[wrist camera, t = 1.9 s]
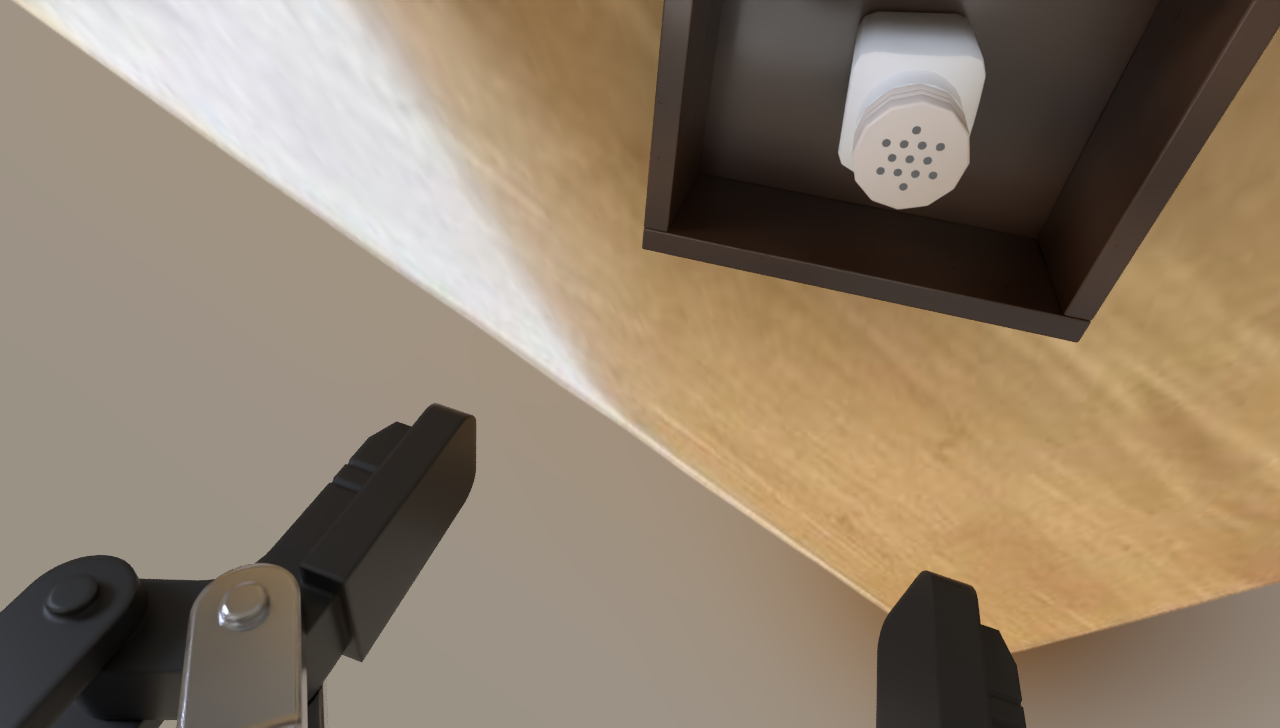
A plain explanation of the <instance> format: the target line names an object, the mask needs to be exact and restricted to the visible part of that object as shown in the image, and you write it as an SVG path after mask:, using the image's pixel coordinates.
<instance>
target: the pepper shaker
mask: <svg viewBox="0 0 1280 728" xmlns="http://www.w3.org/2000/svg"><path fill="white" fill-rule="evenodd" d="M985 77H986V72H985V65H984V59H983V56H982V54H981V51H980V48H979V45H978V43H977V40H976V37H975V34H974V32H973V29H972V26H971V24H970V21H969V19H967V18H965V17H963V16H961V15H959V14H944V13H913V12H882V11H877V12H874V13H872V14H869V15H866V16H864V18H863V20H862V22H861V24H860V25H859V27H858V30H857V36H856V42H855V48H854V55H853V61H852V67H851V73H850V79H849V85H848V92H847V98H846V104H845V110H844V117H843V123H842V130H841V136H840V143H839V149H838V155H839V158H840V161H841V164H842V165H844V166H845V167H847V168H848V169H850V170H852V171H853V172H854V176H855V181H856V182H857V183H858V185H859V186H860V187H861V188H862V189H863V191H864V192H865V193H866V194H867V195H868V197H869V198H870V199H871V200H872V201H875V202H878V203H881V204H883V205H886V206H889V207H892V208H895V209H906V208H914V207H921V206H928V205H929V204H931V203H933V202H934V201H936V200H937V199H939V198H940V197H942V196H944V195H945V194H947V193H948V192H950V191H951V190H953V189H954V188H955V186H956V185H957V183H958V181H959V180H960V178H961V176H962V175H963V173H964V171H965V170H966V168H967V166H968V165H969V163H970V147H969V137H970V134H971V131H972V127H973V124H974V120H975V117H976V113H977V109H978V106H979V102H980V98H981V94H982V90H983V86H984V81H985Z"/></svg>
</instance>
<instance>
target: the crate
mask: <svg viewBox="0 0 1280 728" xmlns="http://www.w3.org/2000/svg"><path fill="white" fill-rule="evenodd" d="M877 11H882V12H913V13H944V14H959V15H961V16H963V17H965V18H967V19H969V21H970V24H971V26H972V29H973V32H974V34H975V37H976V40H977V43H978V45H979V48H980V51H981V54H982V56H983V59H984V65H985V72H986V77H985V81H984V86H983V90H982V94H981V98H980V102H979V106H978V109H977V113H976V117H975V120H974V124H973V127H972V131H971V134H970V137H969V147H970V163H969V165H968V166H967V168H966V170H965V171H964V173H963V175H962V176H961V178H960V180H959V181H958V183H957V185H956V186H955V188H954V189H953V190H951V191H950V192H948V193H947V194H945V195H944V196H942V197H940V198H939V199H937V200H936V201H934V202H933V203H931V204H929V205H928V206H921V207H914V208H906V209H895V208H892V207H889V206H886V205H883V204H881V203H878V202H875V201H872V200H871V199H870V198H869V197H868V195H867V194H866V193H865V192H864V191H863V189H862V188H861V187H860V186H859V185H858V183H857V182H856V181H855V176H854V172H853V171H852V170H850V169H848V168H847V167H845V166H844V165H842V164H841V161H840V158H839V155H838V149H839V143H840V136H841V130H842V123H843V117H844V110H845V104H846V98H847V92H848V85H849V79H850V73H851V67H852V61H853V55H854V48H855V42H856V36H857V30H858V27H859V25H860V24H861V22H862V20H863V18H864V16H866V15H869V14H872V13H874V12H877ZM1279 27H1280V0H664V5H663V17H662V28H661V39H660V51H659V62H658V73H657V85H656V96H655V107H654V118H653V130H652V141H651V152H650V164H649V175H648V186H647V198H646V209H645V220H644V227H645V228H644V232H643V243H642V248H643V249H646V250H651V251H655V252H660V253H664V254H669V255H674V256H678V257H683V258H688V259H692V260H697V261H702V262H706V263H711V264H715V265H720V266H725V267H729V268H734V269H739V270H743V271H748V272H753V273H757V274H762V275H766V276H771V277H776V278H780V279H785V280H790V281H794V282H799V283H804V284H808V285H813V286H817V287H822V288H827V289H831V290H836V291H841V292H845V293H850V294H855V295H859V296H864V297H868V298H873V299H878V300H882V301H887V302H892V303H896V304H901V305H906V306H910V307H915V308H919V309H924V310H929V311H933V312H938V313H943V314H947V315H952V316H957V317H961V318H966V319H970V320H975V321H980V322H984V323H989V324H994V325H998V326H1003V327H1008V328H1012V329H1017V330H1021V331H1026V332H1031V333H1035V334H1040V335H1045V336H1049V337H1054V338H1058V339H1063V340H1068V341H1072V342H1079V340H1080V339H1081V337H1082V335H1083V334H1084V332H1085V331H1086V329H1087V328H1088V326H1089V324H1090V322H1091V320H1092V319H1093V318H1094V316H1095V315H1096V313H1097V311H1098V310H1099V308H1100V307H1101V305H1102V304H1103V302H1104V301H1105V299H1106V297H1107V296H1108V294H1109V293H1110V291H1111V290H1112V288H1113V286H1114V285H1115V283H1116V282H1117V280H1118V279H1119V277H1120V276H1121V274H1122V272H1123V271H1124V269H1125V268H1126V266H1127V265H1128V263H1129V261H1130V260H1131V258H1132V257H1133V255H1134V254H1135V252H1136V250H1137V249H1138V247H1139V246H1140V244H1141V243H1142V241H1143V240H1144V238H1145V236H1146V235H1147V233H1148V232H1149V230H1150V229H1151V227H1152V225H1153V224H1154V222H1155V221H1156V219H1157V218H1158V216H1159V214H1160V213H1161V211H1162V210H1163V208H1164V207H1165V205H1166V204H1167V202H1168V200H1169V199H1170V197H1171V196H1172V194H1173V193H1174V191H1175V189H1176V188H1177V186H1178V185H1179V183H1180V182H1181V180H1182V178H1183V177H1184V175H1185V174H1186V172H1187V171H1188V169H1189V168H1190V166H1191V164H1192V163H1193V161H1194V160H1195V158H1196V157H1197V155H1198V153H1199V152H1200V150H1201V149H1202V147H1203V146H1204V144H1205V142H1206V141H1207V139H1208V138H1209V136H1210V135H1211V133H1212V132H1213V130H1214V128H1215V127H1216V125H1217V124H1218V122H1219V121H1220V119H1221V117H1222V116H1223V114H1224V113H1225V111H1226V110H1227V108H1228V107H1229V105H1230V103H1231V102H1232V100H1233V99H1234V97H1235V96H1236V94H1237V92H1238V91H1239V89H1240V88H1241V86H1242V85H1243V83H1244V81H1245V80H1246V78H1247V77H1248V75H1249V74H1250V72H1251V71H1252V69H1253V67H1254V66H1255V64H1256V63H1257V61H1258V60H1259V58H1260V56H1261V55H1262V53H1263V52H1264V50H1265V49H1266V47H1267V45H1268V44H1269V42H1270V41H1271V39H1272V38H1273V36H1274V35H1275V33H1276V31H1277V30H1278V28H1279Z"/></svg>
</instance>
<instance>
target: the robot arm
mask: <svg viewBox="0 0 1280 728" xmlns="http://www.w3.org/2000/svg"><path fill="white" fill-rule="evenodd" d="M475 473H476V419H475V417H474V416H473V415H470V414H467V413H464V412H461V411H458V410H455V409H452V408H449V407H446V406H443V405H440V404H437V403H434V404H432V405H430V406H429V407H428V408H427V409H426V410H425V411H424V412H423V414H422V415H421V416H420V417H419V418H418V420H417V421H416V422H415V423H414V425H413V426H412V427H411V426H408V425H405V424H402V423H399V422H395V423H393V424H391V425H390V426H388V427H386V428H384V429H383V430H381V431H379V432H378V433H376V434H374V435H372V436H371V437H369V438H368V439H367V440H366V441H365V443H364V444H363V445H362V446H361V447H360V448H359V449H358V451H357V452H356V453H355V454H354V455H353V456H352V457H351V459H350V461H349V463H348V464H345V465H344V467H343V468H342V469H341V470H340V471H339V472H338V474H337V475H336V476H335V477H334V479H333V482H332V483H329V484H328V485H327V486H326V487H325V488H324V489H323V491H322V492H321V493H320V494H319V495H318V496H317V497H316V499H315V500H314V501H313V502H312V503H311V504H310V506H309V507H308V508H307V509H306V510H305V511H304V512H303V513H302V515H301V516H300V517H299V518H298V519H297V520H296V521H295V523H294V524H293V525H292V526H291V527H290V528H289V530H288V531H287V532H286V533H285V534H284V535H283V536H282V537H281V539H280V540H279V541H278V542H277V543H276V544H275V545H274V547H273V548H272V549H271V550H270V551H269V552H268V553H267V554H266V555H265V556H264V557H262V558H261V559H260V560H259V561H257V562H256V563H254V564H248V565H244V566H240V567H237V568H235V569H232V570H230V571H228V572H226V573H224V574H222V575H220V576H219V577H218V578H216V579H213V580H199V581H195V580H162V579H139V578H138V576H137V575H136V573H135V571H134V569H133V568H132V567H131V566H130V564H128V563H127V562H126V561H124V560H122V559H120V558H117V557H113V556H107V555H96V556H87V557H81V558H78V559H74V560H71V561H69V562H66V563H63V564H61V565H59V566H57V567H55V568H53V569H51V570H49V571H48V572H46V573H45V574H43V575H42V576H40V577H39V578H38V579H36V580H35V581H34V582H33V583H32V584H30V585H29V586H28V587H27V588H26V589H25V590H24V591H23V592H22V593H21V594H20V595H19V596H18V597H16V598H15V599H14V601H12V602H11V603H10V604H9V605H8V606H7V607H6V608H5V609H4V610H3V611H1V612H0V728H158V727H159V726H160V725H161V724H162V722H163V721H164V720H177V727H176V728H328V707H327V682H326V681H327V680H326V677H327V676H328V674H329V673H330V672H331V670H332V669H333V667H334V665H335V664H336V663H337V661H338V660H339V658H340V657H341V655H345V656H347V657H350V658H352V659H355V660H357V661H360V662H362V661H363V660H364V658H365V657H366V655H367V654H368V652H369V651H370V649H371V647H372V646H373V644H374V643H375V641H376V640H377V638H378V637H379V635H380V633H381V632H382V630H383V629H384V627H385V626H386V624H387V623H388V621H389V619H390V618H391V616H392V615H393V613H394V612H395V610H396V608H397V607H398V605H399V604H400V602H401V600H402V599H403V598H404V596H405V595H406V593H407V591H408V590H409V588H410V587H411V585H412V584H413V582H414V581H415V579H416V577H417V576H418V574H419V573H420V571H421V570H422V568H423V567H424V565H425V563H426V562H427V560H428V559H429V557H430V556H431V554H432V553H433V551H434V549H435V548H436V546H437V545H438V543H439V542H440V540H441V539H442V537H443V535H444V534H445V532H446V531H447V529H448V528H449V526H450V525H451V523H452V521H453V520H454V518H455V517H456V515H457V514H458V512H459V511H460V509H461V508H462V506H463V504H464V503H465V501H466V499H467V497H468V495H469V493H470V491H471V488H472V485H473V482H474V478H475ZM1021 701H1022V697H1021V690H1020V684H1019V678H1018V671H1017V665H1016V663H1015V661H1014V659H1013V657H1012V655H1011V653H1010V651H1009V649H1008V648H1007V646H1006V644H1005V642H1004V640H1003V638H1002V636H1001V634H1000V632H999V630H996V629H993V628H990V627H987V626H984V625H981V623H980V615H979V606H978V598H977V594H976V591H975V589H974V588H973V587H972V586H971V585H968V584H965V583H962V582H959V581H956V580H953V579H950V578H947V577H944V576H941V575H938V574H935V573H932V572H930V571H922V572H921V573H920V574H919V575H918V576H917V578H916V579H915V580H914V581H913V583H912V584H911V585H910V587H909V588H908V589H907V591H906V592H905V593H904V594H903V596H902V597H901V598H900V600H899V601H898V602H897V604H896V605H895V606H894V607H893V609H892V610H891V611H890V613H889V614H888V616H887V617H886V619H885V621H884V624H883V626H882V629H881V632H880V637H879V642H878V650H877V713H876V728H1026V723H1025V717H1024V710H1023V707H1021Z"/></svg>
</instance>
